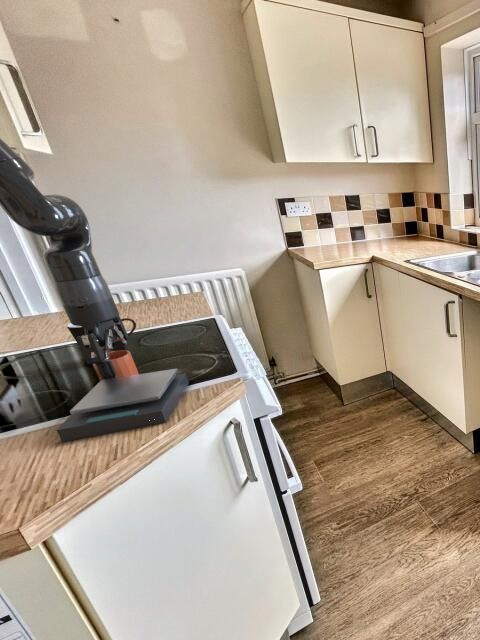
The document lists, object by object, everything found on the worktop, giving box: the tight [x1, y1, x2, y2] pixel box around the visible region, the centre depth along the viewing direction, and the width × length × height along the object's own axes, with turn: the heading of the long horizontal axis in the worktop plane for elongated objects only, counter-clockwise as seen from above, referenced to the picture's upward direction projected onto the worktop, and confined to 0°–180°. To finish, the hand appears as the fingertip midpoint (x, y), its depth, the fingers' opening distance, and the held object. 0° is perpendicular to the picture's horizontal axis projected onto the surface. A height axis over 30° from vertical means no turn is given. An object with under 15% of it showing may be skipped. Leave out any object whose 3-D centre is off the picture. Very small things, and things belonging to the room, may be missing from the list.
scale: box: [56, 372, 190, 443], centre depth 83 cm, size 15×17×3 cm
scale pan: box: [69, 368, 179, 416], centre depth 83 cm, size 13×13×1 cm
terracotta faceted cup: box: [92, 349, 140, 382], centre depth 92 cm, size 6×6×7 cm
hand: (118, 369), depth 92 cm, fingers open, 8 cm apart
